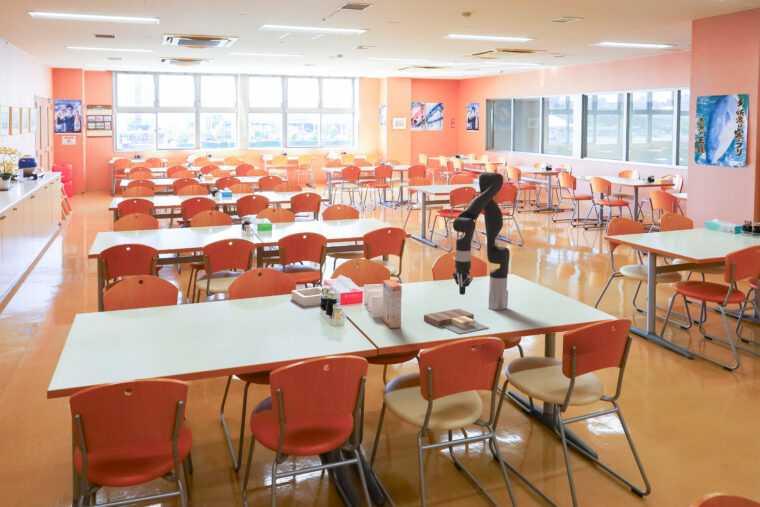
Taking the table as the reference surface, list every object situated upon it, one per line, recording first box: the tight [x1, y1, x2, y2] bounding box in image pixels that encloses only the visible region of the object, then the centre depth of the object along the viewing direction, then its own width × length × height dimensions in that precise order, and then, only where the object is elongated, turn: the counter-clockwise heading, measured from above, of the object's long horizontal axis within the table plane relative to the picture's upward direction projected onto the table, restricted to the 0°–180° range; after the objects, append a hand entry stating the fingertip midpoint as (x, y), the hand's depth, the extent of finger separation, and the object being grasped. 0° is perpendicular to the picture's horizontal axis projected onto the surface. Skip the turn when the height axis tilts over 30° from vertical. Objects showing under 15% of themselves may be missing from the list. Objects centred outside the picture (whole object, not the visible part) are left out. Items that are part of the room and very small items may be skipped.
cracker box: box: [382, 279, 403, 329], centre depth 314 cm, size 14×6×21 cm, turn 14°
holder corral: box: [291, 286, 323, 307], centre depth 356 cm, size 17×17×5 cm
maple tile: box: [451, 316, 476, 329], centre depth 313 cm, size 8×8×3 cm
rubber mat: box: [441, 321, 490, 335], centre depth 312 cm, size 18×15×1 cm
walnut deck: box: [423, 308, 475, 328], centre depth 322 cm, size 22×12×3 cm, turn 121°
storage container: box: [363, 283, 383, 318], centre depth 339 cm, size 25×11×11 cm, turn 11°
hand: (462, 294), depth 311 cm, fingers closed
